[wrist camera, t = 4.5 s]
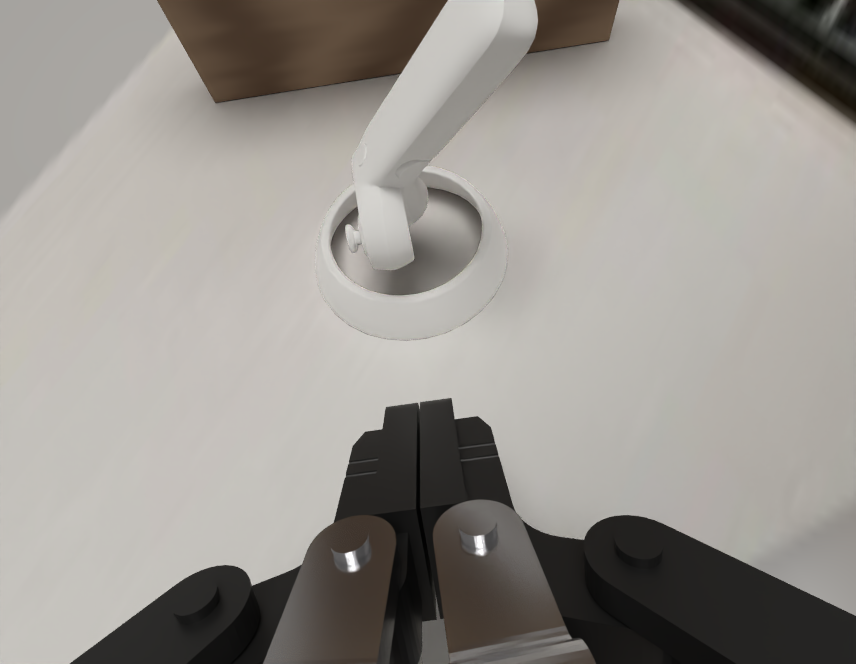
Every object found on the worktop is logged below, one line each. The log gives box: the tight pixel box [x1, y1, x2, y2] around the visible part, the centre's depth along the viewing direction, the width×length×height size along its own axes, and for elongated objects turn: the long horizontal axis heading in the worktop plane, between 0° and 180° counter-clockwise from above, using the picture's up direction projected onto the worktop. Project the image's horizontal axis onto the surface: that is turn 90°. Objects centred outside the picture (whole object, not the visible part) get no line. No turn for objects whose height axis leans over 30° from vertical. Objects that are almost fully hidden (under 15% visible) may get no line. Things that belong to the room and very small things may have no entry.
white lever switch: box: [315, 0, 538, 341], centre depth 15 cm, size 8×12×7 cm
